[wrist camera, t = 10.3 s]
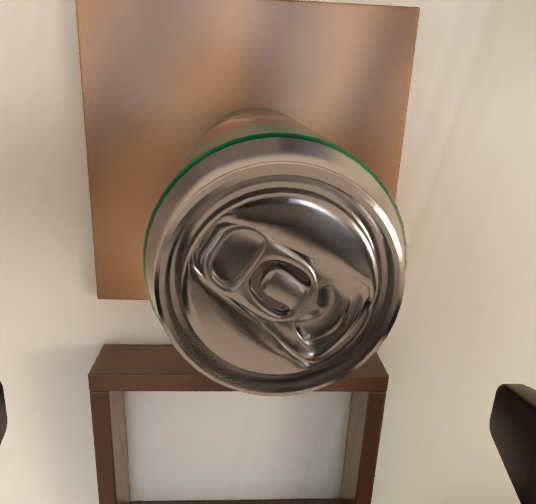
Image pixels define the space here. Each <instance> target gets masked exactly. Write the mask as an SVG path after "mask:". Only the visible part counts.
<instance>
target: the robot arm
mask: <svg viewBox="0 0 536 504" xmlns="http://www.w3.org/2000/svg"><path fill="white" fill-rule="evenodd" d="M6 428H7V413H6V406H5V399H4V392H3V386H2V383H1V382H0V444H1V442H2V439H3V437H4V434H5V432H6ZM490 432H491V435H492V438H493V440H494V442H495V445H496V447H497V449H498V452H499V454H500V456H501V459H502V461H503V463H504V466H505V468H506V470H507V473H508V475H509V477H510V479H511V482H512V484H513V486H514V489H515V491H516V493H517V496H518V498H519V500H520V502H521V504H536V390H534V389H532V388H530V387H528V386H525V385H522V384H502V385H500V386H499V387H498V389H497V391H496V395H495V399H494V404H493V408H492V413H491V417H490Z"/></svg>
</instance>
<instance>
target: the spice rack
mask: <svg viewBox="0 0 536 504" xmlns="http://www.w3.org/2000/svg"><path fill="white" fill-rule="evenodd" d="M388 378H389V375H388V374H387V372H386V370H385V368H384V366H383V364H382V362H381V360H380V358H379V356H378V354H377V353H376V352H375V353H374V354H373V355H372V356H371V357H370V358H369V359H368V360H367V361H366V362H365V363H364V364H362V365H361V366H360V367H358V368H357V369H356V370H354V371H353V372H352V373H350V374H349V375H347V376H345V377H344V378H342V379H340V380H338V381H337V382H335V383H333V384H330V385H328V386H325V387H323V388H320V389H318V390H314V391H353V393H352V402H351V411H350V419H349V428H348V437H347V446H346V455H345V463H344V472H343V481H342V490H341V498H340V499H341V500H271V501H199V502H130V490H129V474H128V457H127V440H126V424H125V407H124V391H238V390H234V389H231V388H228V387H226V386H224V385H221V384H219V383H217V382H215V381H213V380H211V379H210V378H208V377H207V376H205V375H204V374H202V373H201V372H199V371H198V370H196V369H195V368H194V367H193V366H192V365H191V364H190V363H189V362H188V361H186V360H185V359H184V358H183V357H182V355H181V354H180V353H179V352H178V350H177V349H176V348H175V347H174V345H103V347H102V349H101V351H100V353H99V355H98V357H97V359H96V361H95V363H94V364H93V366H92V368H91V370H90V372H89V374H88V380H89V390H90V400H91V412H92V424H93V435H94V447H95V459H96V470H97V482H98V494H99V504H371V498H372V491H373V484H374V477H375V469H376V462H377V455H378V448H379V441H380V434H381V426H382V419H383V412H384V405H385V398H386V391H387V386H388Z"/></svg>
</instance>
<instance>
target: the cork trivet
mask: <svg viewBox="0 0 536 504" xmlns="http://www.w3.org/2000/svg"><path fill="white" fill-rule="evenodd" d="M419 10H420V9H419V8H418V7H403V6H386V5H368V4H351V3H334V2H316V1H299V0H76V14H77V27H78V41H79V54H80V68H81V81H82V95H83V108H84V121H85V135H86V148H87V162H88V175H89V189H90V202H91V215H92V229H93V242H94V256H95V269H96V283H97V296H98V299H133V300H149V297H148V294H147V291H146V287H145V281H144V276H143V257H142V251H143V245H144V238H145V232H146V229H147V226H148V223H149V220H150V217H151V214H152V211H153V209H154V207H155V206H156V204H157V202H158V200H159V198H160V196H161V194H162V193H163V191H164V190H165V188H166V187H167V186H168V184H169V183H170V181H171V180H172V179H173V177H174V176H175V174H176V173H177V171H178V170H179V169H180V167H181V166H182V164H183V163H184V162H185V160H186V159H187V157H188V156H189V154H190V153H191V152H192V150H193V149H194V147H195V146H196V145H197V143H198V142H199V140H200V139H201V137H202V136H203V135H204V134H205V132H206V131H207V130H208V129H209V128H210V127H211V126H212V125H213V124H214V123H215V122H216V121H218V120H219V119H221V118H222V117H224V116H225V115H227V114H230V113H232V112H234V111H237V110H241V109H245V108H267V109H271V110H276V111H278V112H281V113H283V114H286V115H287V116H289V117H291V118H292V119H294V120H296V121H298V122H299V123H301V124H303V125H304V126H306V127H308V128H309V129H311V130H313V131H315V132H316V133H318V134H320V135H321V136H323V137H325V138H326V139H328V140H330V141H331V142H333V143H335V144H337V145H338V146H340V147H342V148H343V149H345V150H346V151H348V152H350V153H351V154H353V155H354V156H356V157H358V158H359V159H360V160H361V161H362V162H363V163H364V164H366V165H367V166H368V167H369V168H370V169H371V170H372V171H373V172H374V173H375V174H376V175H377V176H378V178H379V179H380V180H381V181H382V183H383V184H384V185H385V186H386V188H387V189H388V191H389V193H390V195H391V197H392V198H393V200H394V202H395V198H396V190H397V182H398V175H399V167H400V159H401V151H402V143H403V136H404V128H405V120H406V112H407V104H408V96H409V89H410V81H411V73H412V65H413V57H414V50H415V42H416V34H417V26H418V18H419Z"/></svg>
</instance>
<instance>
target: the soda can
mask: <svg viewBox="0 0 536 504" xmlns="http://www.w3.org/2000/svg"><path fill="white" fill-rule="evenodd" d="M142 257H143V276H144V281H145V287H146V291H147V294H148V297H149V300H150V302H151V305H152V308H153V310H154V312H155V313H156V315H157V317H158V319H159V321H160V322H161V324H162V326H163V328H164V330H165V332H166V333H167V335H168V337H169V339H170V340H171V342H172V344H173V345H174V347H175V348H176V349H177V350H178V352H179V353H180V354H181V355H182V357H183V358H184V359H185V360H186V361H188V362H189V363H190V364H191V365H192V366H193V367H194V368H195V369H196V370H198V371H199V372H201V373H202V374H204V375H205V376H207V377H208V378H210V379H211V380H213V381H215V382H217V383H219V384H221V385H224V386H226V387H228V388H231V389H234V390H238V391H241V392H244V393H249V394H255V395H262V396H287V395H296V394H302V393H306V392H310V391H314V390H318V389H320V388H323V387H325V386H328V385H330V384H333V383H335V382H337V381H338V380H340V379H342V378H344V377H345V376H347V375H349V374H350V373H352V372H353V371H354V370H356V369H357V368H358V367H360V366H361V365H362V364H364V363H365V362H366V361H367V360H368V359H369V358H370V357H371V356H372V355H373V354H374V353H375V352H376V350H377V349H378V348H379V346H380V345H381V344H382V342H383V341H384V340H385V338H386V337H387V335H388V333H389V332H390V330H391V328H392V326H393V324H394V322H395V320H396V317H397V314H398V311H399V308H400V306H401V302H402V296H403V290H404V274H405V268H406V239H405V233H404V227H403V223H402V220H401V217H400V214H399V211H398V208H397V206H396V204H395V202H394V200H393V198H392V197H391V195H390V193H389V191H388V189H387V188H386V186H385V185H384V184H383V183H382V181H381V180H380V179H379V178H378V176H377V175H376V174H375V173H374V172H373V171H372V170H371V169H370V168H369V167H368V166H367V165H366V164H364V163H363V162H362V161H361V160H360V159H359V158H358V157H356V156H354V155H353V154H351V153H350V152H348V151H346V150H345V149H343V148H342V147H340V146H338V145H337V144H335V143H333V142H331V141H330V140H328V139H326V138H325V137H323V136H321V135H320V134H318V133H316V132H315V131H313V130H311V129H309V128H308V127H306V126H304V125H303V124H301V123H299V122H298V121H296V120H294V119H292V118H291V117H289V116H287V115H286V114H283V113H281V112H278V111H276V110H271V109H267V108H245V109H241V110H237V111H234V112H232V113H230V114H227V115H225V116H224V117H222V118H221V119H219V120H218V121H216V122H215V123H214V124H213V125H212V126H211V127H210V128H209V129H208V130H207V131H206V132H205V134H204V135H203V136H202V137H201V139H200V140H199V142H198V143H197V145H196V146H195V147H194V149H193V150H192V152H191V153H190V154H189V156H188V157H187V159H186V160H185V162H184V163H183V164H182V166H181V167H180V169H179V170H178V171H177V173H176V174H175V176H174V177H173V179H172V180H171V181H170V183H169V184H168V186H167V187H166V188H165V190H164V191H163V193H162V194H161V196H160V198H159V200H158V202H157V204H156V206H155V207H154V209H153V211H152V214H151V217H150V220H149V223H148V226H147V229H146V232H145V238H144V245H143V251H142Z"/></svg>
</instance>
